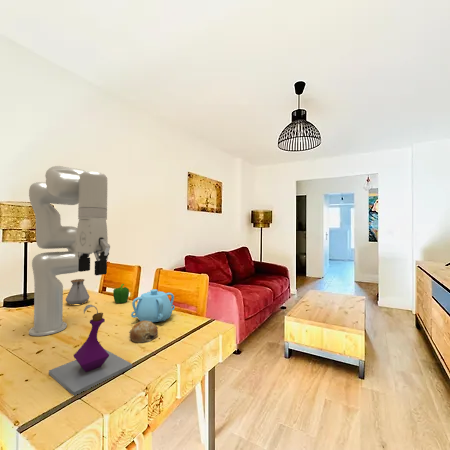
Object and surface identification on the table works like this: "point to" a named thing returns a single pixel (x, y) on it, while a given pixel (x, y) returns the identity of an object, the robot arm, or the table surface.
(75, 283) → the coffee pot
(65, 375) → the slate tile
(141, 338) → the bread roll
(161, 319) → the decorative pot
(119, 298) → the bell pepper
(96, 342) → the perfume bottle
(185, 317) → the table surface
